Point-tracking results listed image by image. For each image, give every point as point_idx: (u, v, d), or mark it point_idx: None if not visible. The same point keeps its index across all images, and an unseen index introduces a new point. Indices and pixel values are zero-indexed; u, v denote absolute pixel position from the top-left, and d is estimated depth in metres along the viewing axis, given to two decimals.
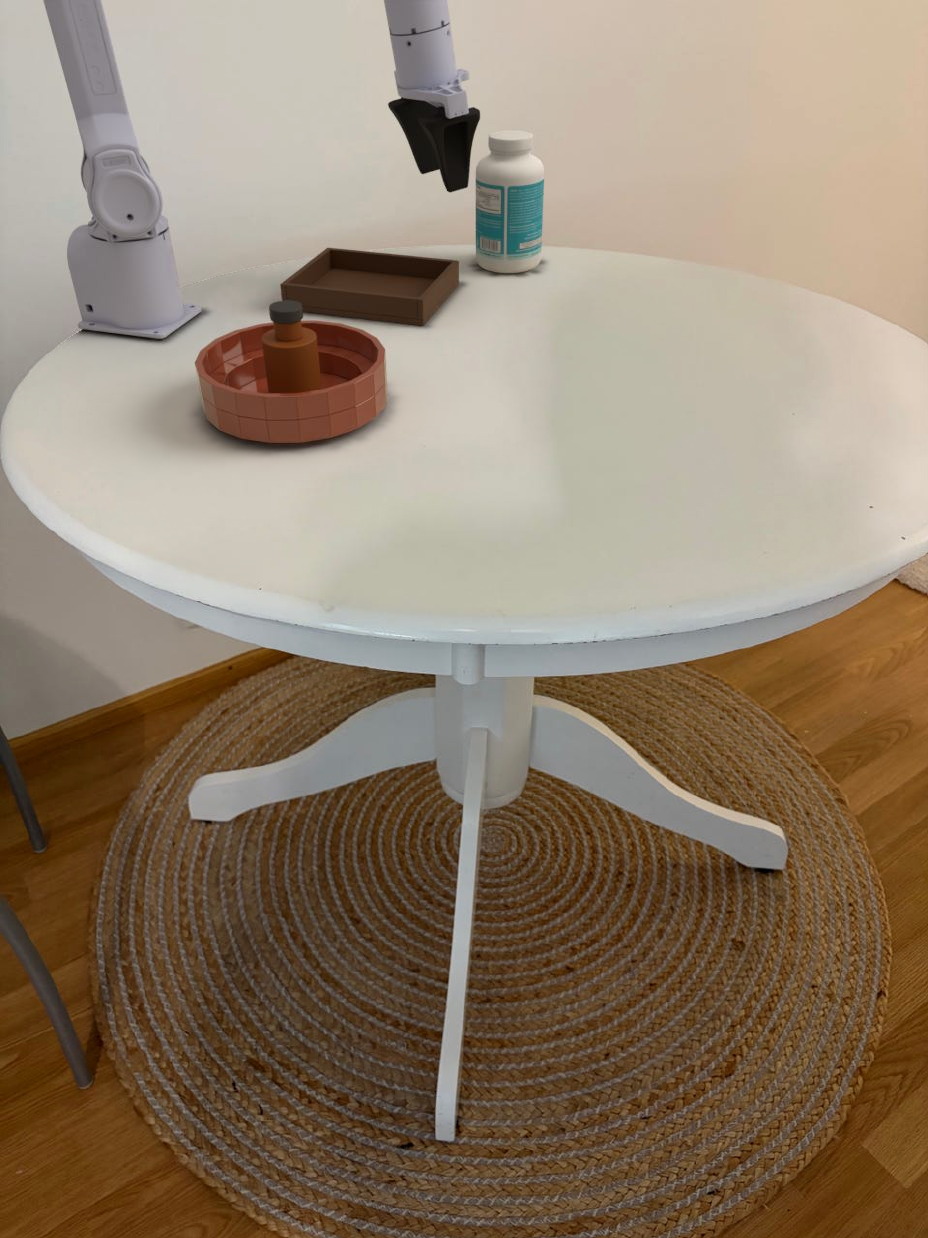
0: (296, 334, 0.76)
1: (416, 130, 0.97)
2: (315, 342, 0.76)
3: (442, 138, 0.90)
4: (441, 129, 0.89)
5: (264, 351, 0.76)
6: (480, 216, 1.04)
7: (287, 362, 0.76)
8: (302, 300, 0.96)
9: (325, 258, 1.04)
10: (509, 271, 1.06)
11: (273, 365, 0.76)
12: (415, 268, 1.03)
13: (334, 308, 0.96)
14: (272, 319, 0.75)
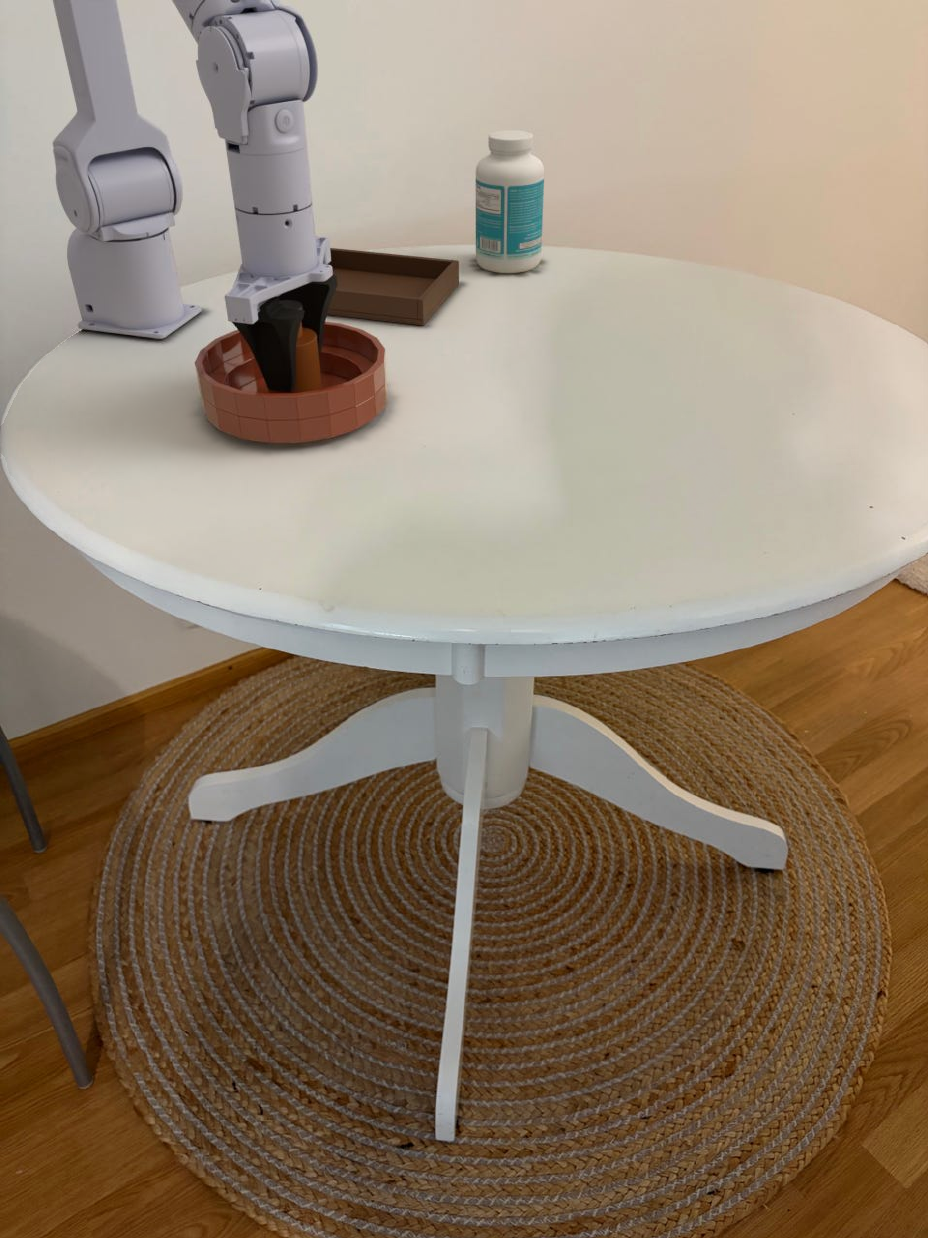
0: None
1: None
2: (315, 342, 0.76)
3: (246, 331, 0.73)
4: None
5: None
6: (480, 216, 1.04)
7: None
8: None
9: None
10: (509, 271, 1.06)
11: None
12: (415, 268, 1.03)
13: (334, 308, 0.96)
14: None
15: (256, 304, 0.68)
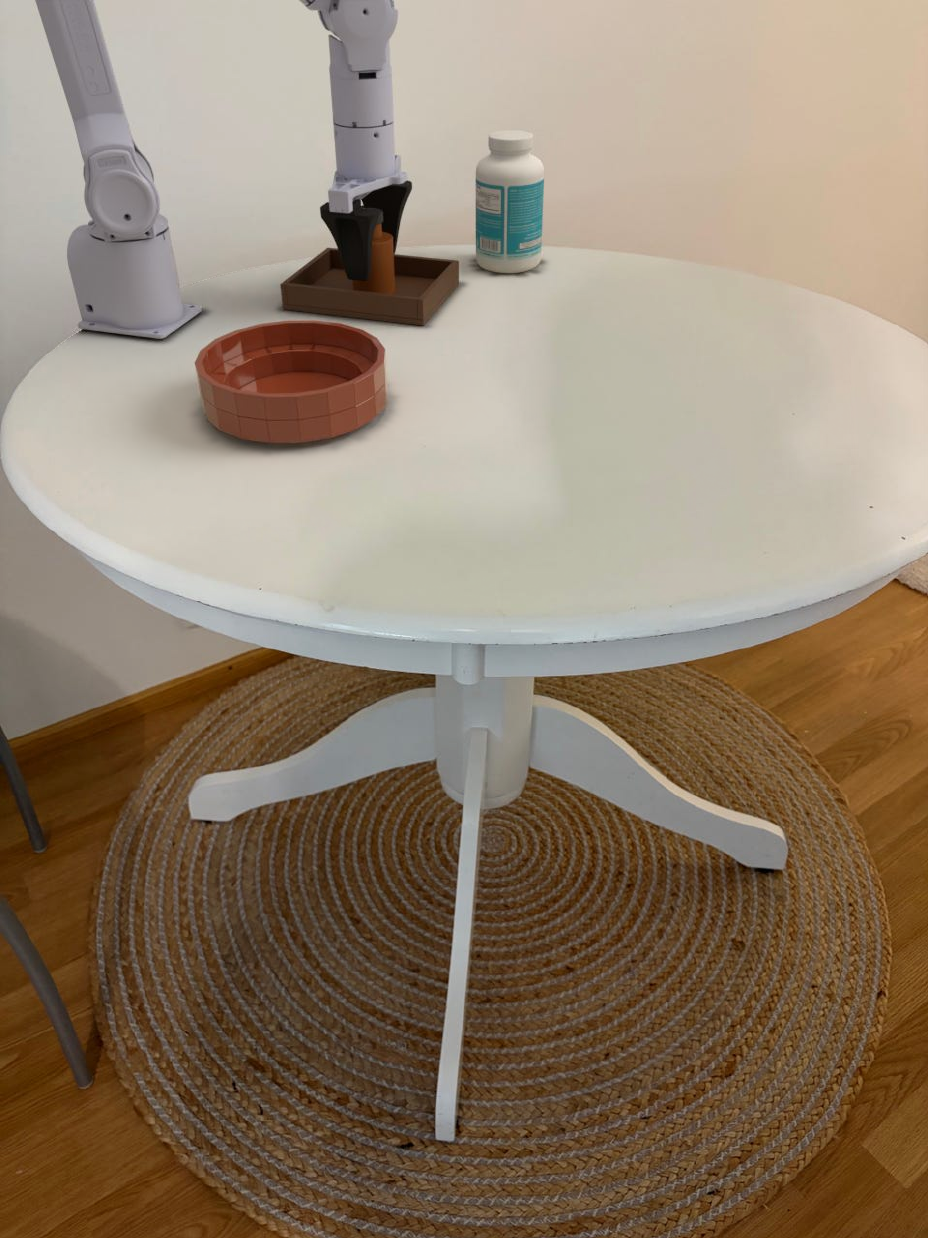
0: (377, 234, 0.96)
1: None
2: (392, 241, 0.97)
3: (334, 227, 0.91)
4: (331, 218, 0.91)
5: None
6: (480, 216, 1.04)
7: None
8: (302, 300, 0.96)
9: (325, 258, 1.04)
10: (509, 271, 1.06)
11: None
12: (415, 268, 1.03)
13: (334, 308, 0.96)
14: None
15: (352, 197, 0.88)
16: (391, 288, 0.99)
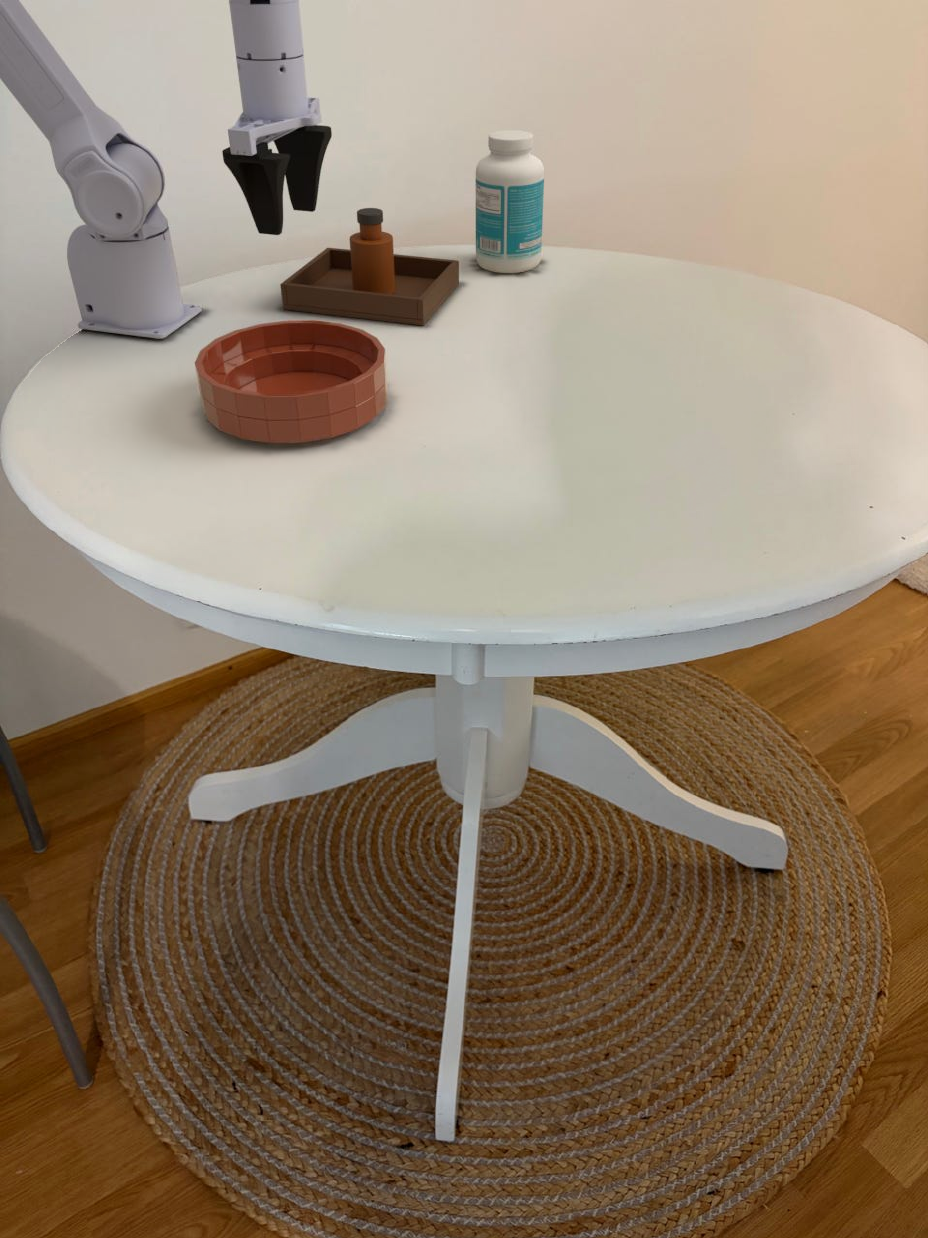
0: (377, 234, 0.96)
1: (291, 163, 0.90)
2: (392, 241, 0.97)
3: (239, 173, 0.83)
4: (234, 163, 0.82)
5: (352, 248, 0.96)
6: (480, 216, 1.04)
7: (370, 256, 0.96)
8: (302, 300, 0.96)
9: (325, 258, 1.04)
10: (509, 271, 1.06)
11: (359, 259, 0.96)
12: (415, 268, 1.03)
13: (334, 308, 0.96)
14: (359, 221, 0.95)
15: (255, 138, 0.79)
16: (391, 288, 0.99)
